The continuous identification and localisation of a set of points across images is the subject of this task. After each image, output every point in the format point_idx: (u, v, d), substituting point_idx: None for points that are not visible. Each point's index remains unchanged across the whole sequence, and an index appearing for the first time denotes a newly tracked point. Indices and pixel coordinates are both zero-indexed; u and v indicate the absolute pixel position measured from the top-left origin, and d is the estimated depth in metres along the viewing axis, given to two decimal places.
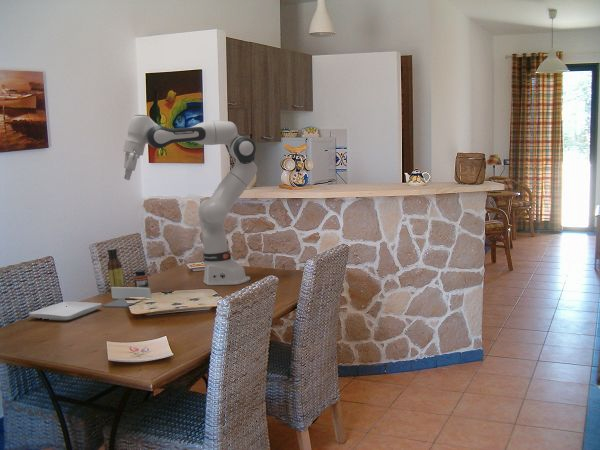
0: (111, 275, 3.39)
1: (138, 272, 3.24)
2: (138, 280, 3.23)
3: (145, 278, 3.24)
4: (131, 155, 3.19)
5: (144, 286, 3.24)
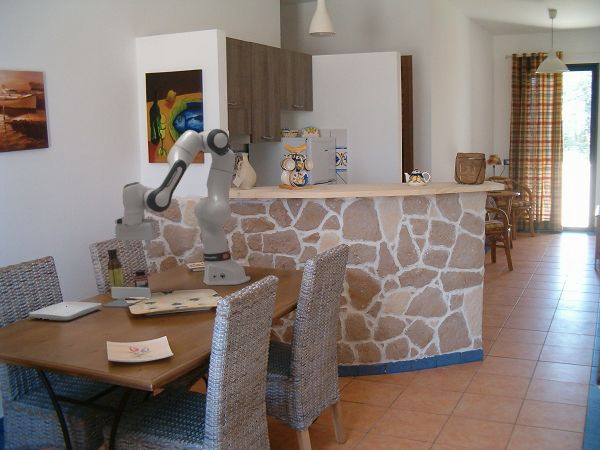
0: (111, 275, 3.39)
1: (138, 272, 3.24)
2: (138, 280, 3.23)
3: (145, 278, 3.24)
4: (151, 225, 3.18)
5: (144, 286, 3.24)
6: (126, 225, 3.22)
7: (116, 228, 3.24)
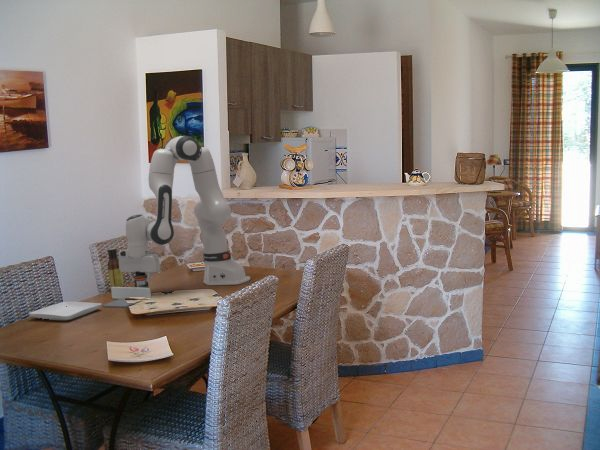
0: (111, 275, 3.39)
1: (138, 272, 3.24)
2: (138, 280, 3.23)
3: None
4: (154, 258, 3.20)
5: (144, 286, 3.24)
6: (130, 257, 3.24)
7: (120, 260, 3.26)
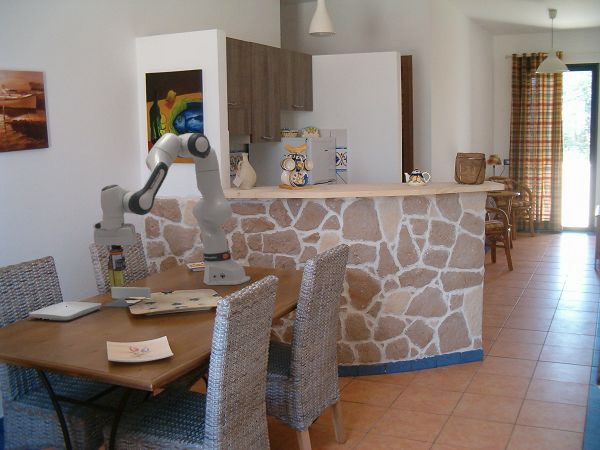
0: (111, 275, 3.39)
1: (114, 246, 3.07)
2: (113, 254, 3.06)
3: (121, 252, 3.08)
4: (131, 230, 3.03)
5: (120, 260, 3.07)
6: (105, 230, 3.07)
7: (95, 233, 3.10)
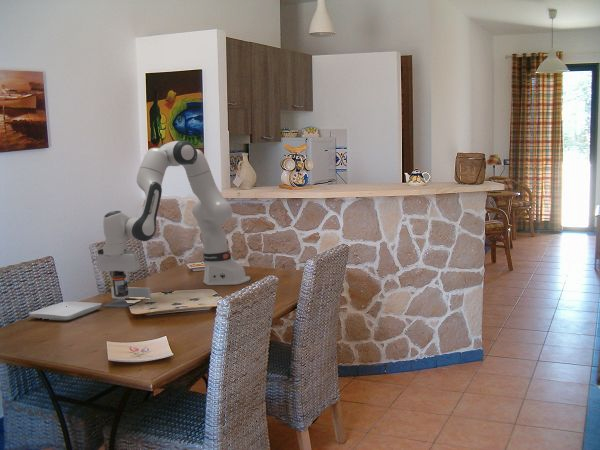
0: None
1: (116, 272, 3.08)
2: (116, 280, 3.08)
3: None
4: (133, 256, 3.05)
5: (123, 286, 3.09)
6: (108, 256, 3.09)
7: (97, 259, 3.11)
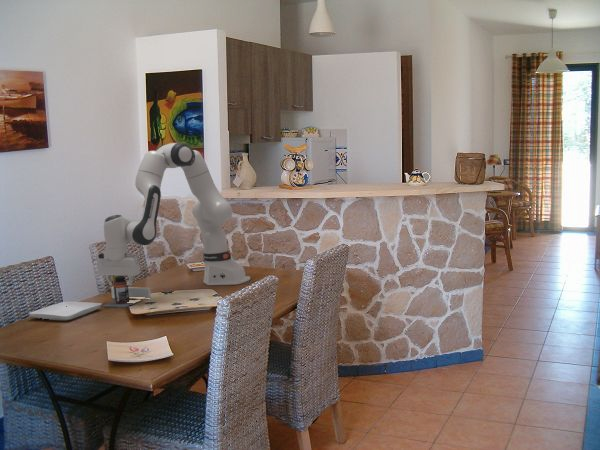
0: (111, 275, 3.39)
1: (117, 278, 3.09)
2: (117, 287, 3.08)
3: (125, 285, 3.09)
4: (134, 260, 3.05)
5: (124, 293, 3.09)
6: (108, 260, 3.09)
7: (98, 263, 3.11)
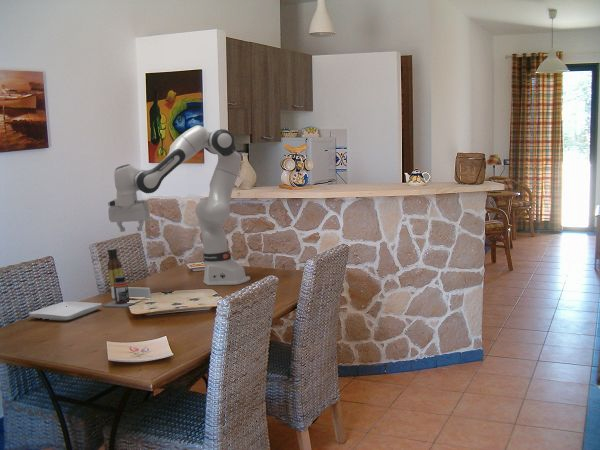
0: (111, 275, 3.39)
1: (117, 278, 3.09)
2: (117, 287, 3.08)
3: (125, 285, 3.09)
4: (144, 206, 3.23)
5: (124, 293, 3.09)
6: (119, 207, 3.27)
7: (109, 210, 3.29)
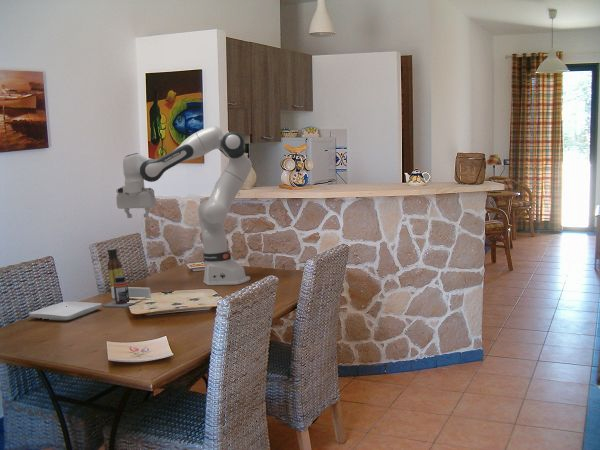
0: (111, 275, 3.39)
1: (117, 278, 3.09)
2: (117, 287, 3.08)
3: (125, 285, 3.09)
4: (150, 194, 3.35)
5: (124, 293, 3.09)
6: (127, 194, 3.39)
7: (117, 197, 3.41)
